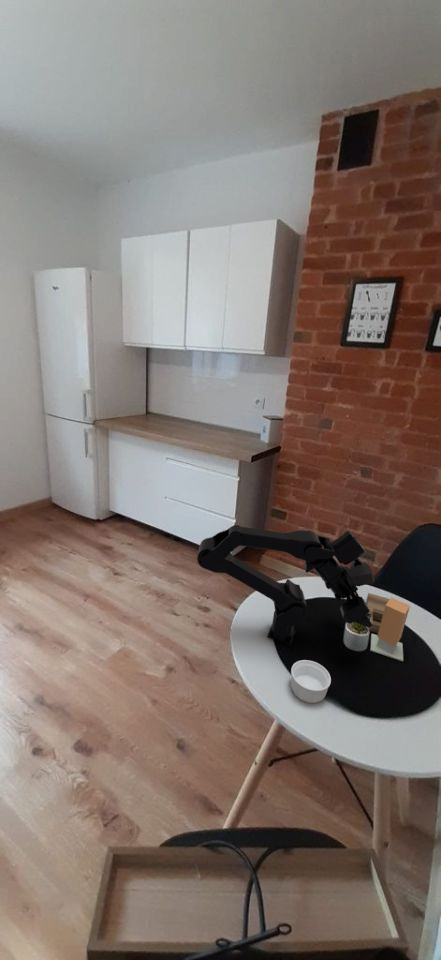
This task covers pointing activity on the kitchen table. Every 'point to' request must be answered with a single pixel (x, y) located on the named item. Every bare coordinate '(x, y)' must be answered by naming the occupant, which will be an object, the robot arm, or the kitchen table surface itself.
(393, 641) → the orange rectangular block
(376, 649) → the mat
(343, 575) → the robot arm
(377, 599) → the header
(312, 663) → the ramekin
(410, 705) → the kitchen table surface
